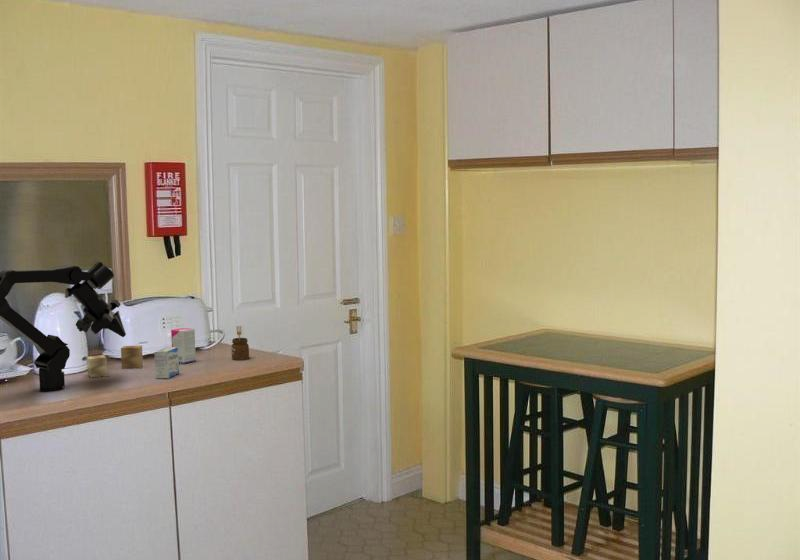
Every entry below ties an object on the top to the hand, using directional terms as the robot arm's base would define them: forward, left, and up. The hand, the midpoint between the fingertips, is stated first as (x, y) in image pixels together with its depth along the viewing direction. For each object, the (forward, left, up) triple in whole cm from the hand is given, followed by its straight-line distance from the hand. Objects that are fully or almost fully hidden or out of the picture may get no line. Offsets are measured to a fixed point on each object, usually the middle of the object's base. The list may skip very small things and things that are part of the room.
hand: (124, 336), depth 270 cm
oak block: (+2, +18, -14) cm, 22 cm away
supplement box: (+19, +20, -14) cm, 31 cm away
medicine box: (+12, -1, -14) cm, 19 cm away
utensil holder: (+38, +18, -14) cm, 44 cm away
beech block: (-9, +9, -14) cm, 18 cm away
